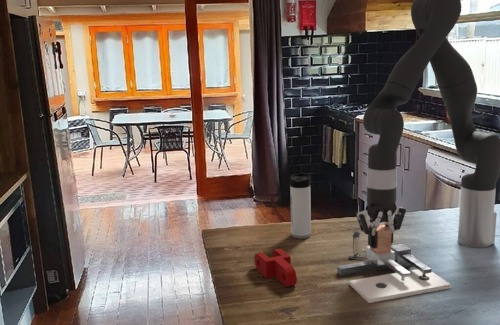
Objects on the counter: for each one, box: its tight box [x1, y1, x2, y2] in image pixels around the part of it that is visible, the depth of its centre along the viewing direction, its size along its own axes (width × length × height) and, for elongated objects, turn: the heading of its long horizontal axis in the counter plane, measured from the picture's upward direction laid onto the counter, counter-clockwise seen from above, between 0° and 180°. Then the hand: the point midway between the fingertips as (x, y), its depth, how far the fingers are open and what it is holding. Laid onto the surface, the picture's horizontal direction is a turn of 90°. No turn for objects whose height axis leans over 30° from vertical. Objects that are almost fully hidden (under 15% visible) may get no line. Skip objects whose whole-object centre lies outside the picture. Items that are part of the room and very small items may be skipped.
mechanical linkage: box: [253, 248, 298, 288], centre depth 130 cm, size 16×7×5 cm, turn 22°
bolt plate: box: [349, 268, 451, 304], centre depth 122 cm, size 22×10×1 cm, turn 105°
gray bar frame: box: [336, 243, 433, 277], centre depth 127 cm, size 22×14×5 cm, turn 105°
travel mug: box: [289, 172, 312, 240], centre depth 156 cm, size 6×7×20 cm
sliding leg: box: [365, 224, 410, 281], centre depth 127 cm, size 5×16×10 cm, turn 15°
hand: (380, 246), depth 131 cm, fingers closed on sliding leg, 4 cm apart
